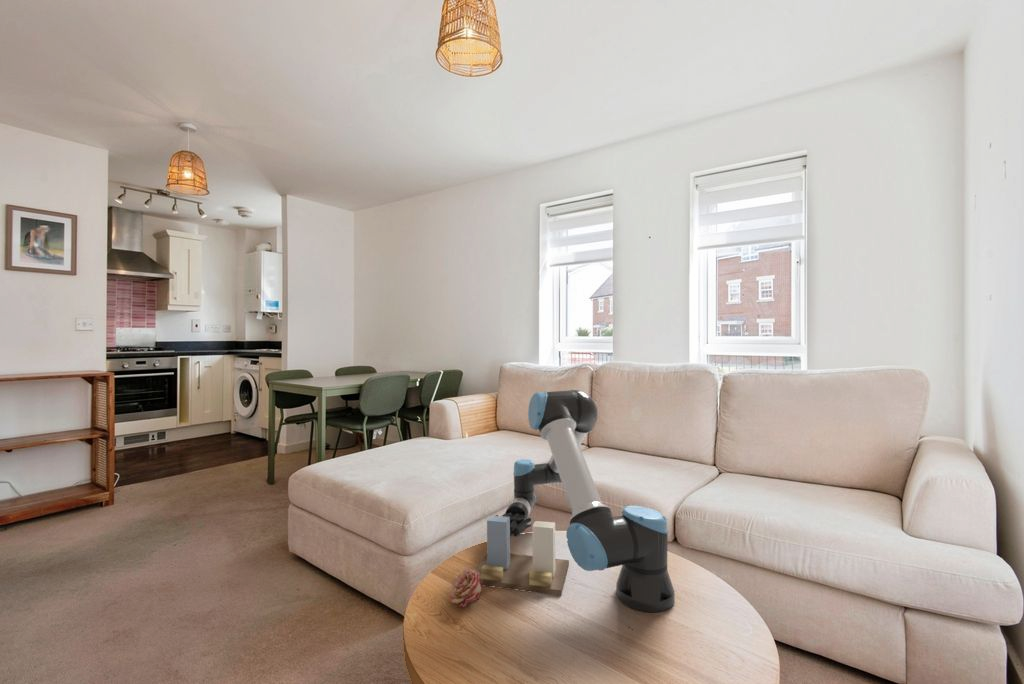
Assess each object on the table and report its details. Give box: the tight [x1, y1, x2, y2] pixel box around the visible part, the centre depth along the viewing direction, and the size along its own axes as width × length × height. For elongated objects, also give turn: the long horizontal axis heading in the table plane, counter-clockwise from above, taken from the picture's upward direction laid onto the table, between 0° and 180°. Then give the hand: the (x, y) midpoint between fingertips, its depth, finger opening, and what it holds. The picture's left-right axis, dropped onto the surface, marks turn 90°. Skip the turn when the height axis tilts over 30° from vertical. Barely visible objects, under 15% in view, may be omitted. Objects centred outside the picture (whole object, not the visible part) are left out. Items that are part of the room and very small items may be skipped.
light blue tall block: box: [486, 515, 511, 570], centre depth 137 cm, size 6×4×14 cm
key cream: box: [531, 520, 557, 577], centre depth 133 cm, size 6×4×14 cm
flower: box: [449, 568, 483, 608], centre depth 121 cm, size 10×9×8 cm
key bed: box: [475, 553, 570, 596], centre depth 135 cm, size 26×17×4 cm, turn 76°
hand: (500, 541), depth 139 cm, fingers closed
